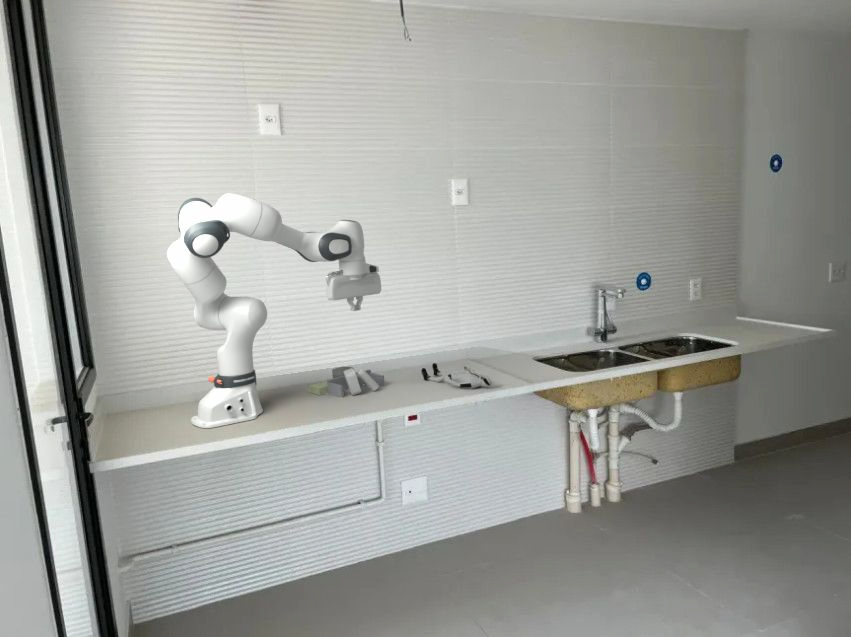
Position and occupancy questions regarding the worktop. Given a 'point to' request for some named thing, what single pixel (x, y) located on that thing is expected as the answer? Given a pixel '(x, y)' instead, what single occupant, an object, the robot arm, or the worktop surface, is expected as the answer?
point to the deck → (341, 382)
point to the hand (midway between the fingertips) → (355, 310)
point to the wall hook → (353, 382)
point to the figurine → (458, 378)
